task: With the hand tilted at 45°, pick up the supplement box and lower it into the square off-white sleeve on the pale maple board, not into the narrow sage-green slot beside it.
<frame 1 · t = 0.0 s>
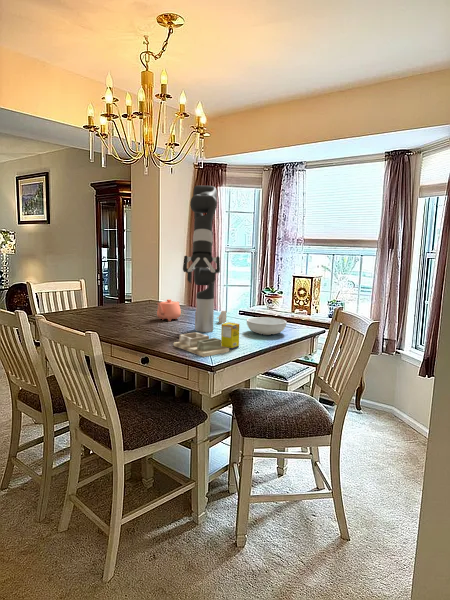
hand: (201, 282, 160), 31 cm above the table, tool tilted 20°, fingers open, 8 cm apart
serving bowl: (265, 333, 218), on the table
architectural model: (222, 324, 242), on the table
supplement box: (229, 347, 187), on the table
teapot: (168, 320, 247), on the table
sleeve board: (200, 348, 184), on the table
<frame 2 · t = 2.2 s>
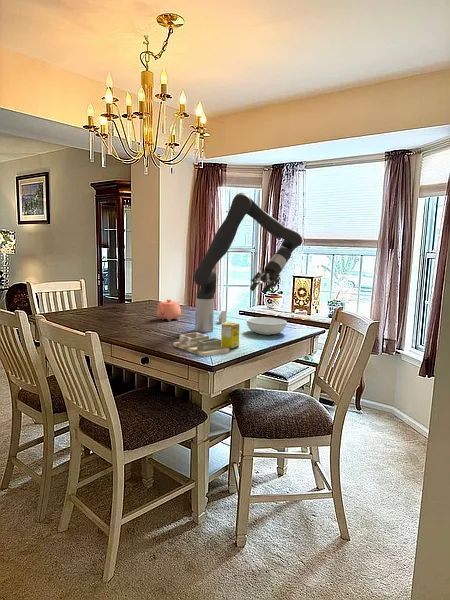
hand: (257, 291, 194), 25 cm above the table, tool tilted 45°, fingers open, 8 cm apart
nothing on the table moved.
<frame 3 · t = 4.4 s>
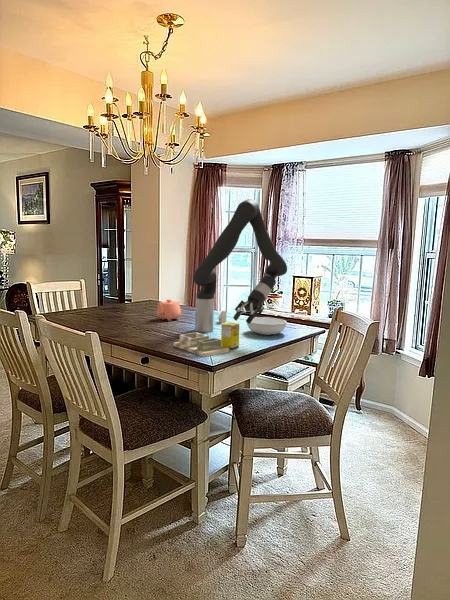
hand: (240, 321, 190), 11 cm above the table, tool tilted 45°, fingers open, 8 cm apart
nothing on the table moved.
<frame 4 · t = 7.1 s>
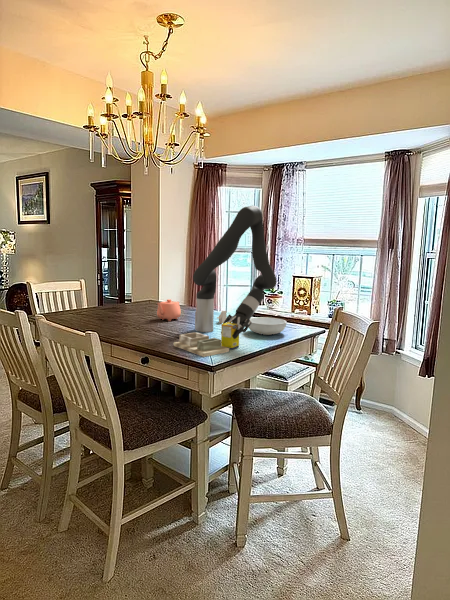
hand: (227, 336, 186), 5 cm above the table, tool tilted 45°, fingers closed on supplement box, 7 cm apart
supplement box: (229, 347, 187), on the table, touching gripper
everything else where it was.
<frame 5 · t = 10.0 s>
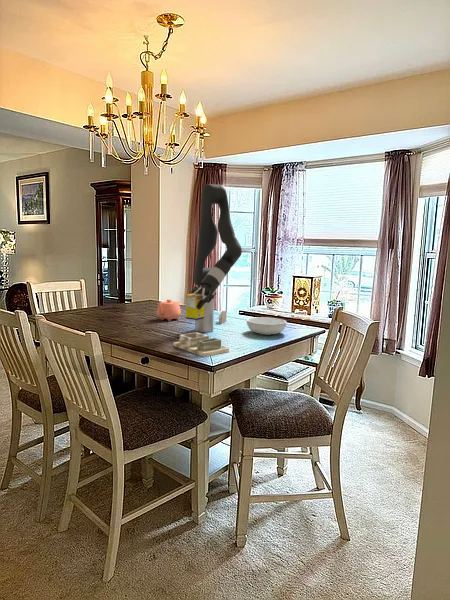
hand: (192, 306, 184), 18 cm above the table, tool tilted 45°, fingers closed on supplement box, 7 cm apart
supplement box: (194, 319, 186), point 12 cm above the table, touching gripper
everything else where it was.
when the fingers open (8 cm above the table, at t = 13.4 s): supplement box drops 1 cm, resting on sleeve board.
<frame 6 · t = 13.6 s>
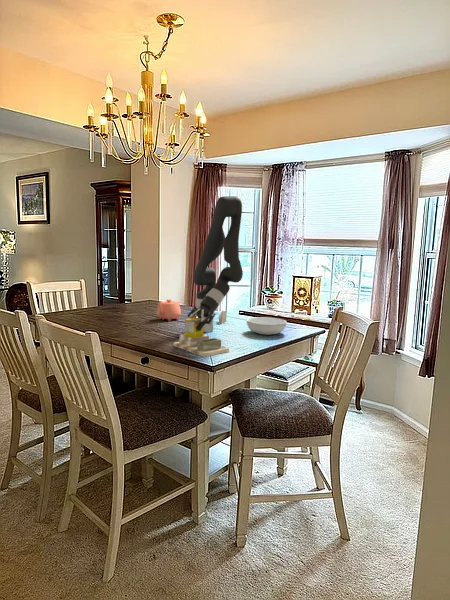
hand: (191, 327, 186), 9 cm above the table, tool tilted 45°, fingers open, 8 cm apart
supplement box: (193, 343, 188), point 1 cm above the table, touching sleeve board
everything else where it was.
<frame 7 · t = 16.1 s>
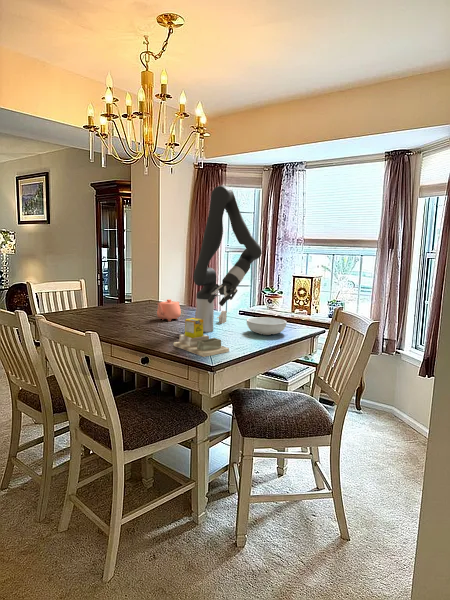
hand: (214, 303, 193), 19 cm above the table, tool tilted 45°, fingers open, 8 cm apart
nothing on the table moved.
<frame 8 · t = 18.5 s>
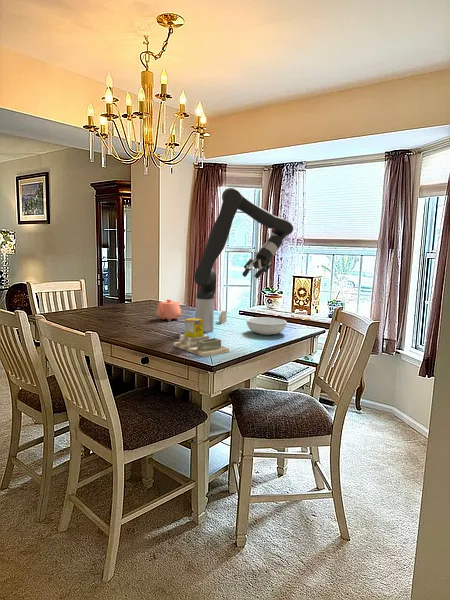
hand: (249, 276, 201), 31 cm above the table, tool tilted 45°, fingers open, 8 cm apart
nothing on the table moved.
at the end: supplement box 0.4 cm from the target spot on the sleeve board, point 1.3 cm above the sleeve board's base; supplement box tilted 0°; the gripper is holding nothing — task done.
